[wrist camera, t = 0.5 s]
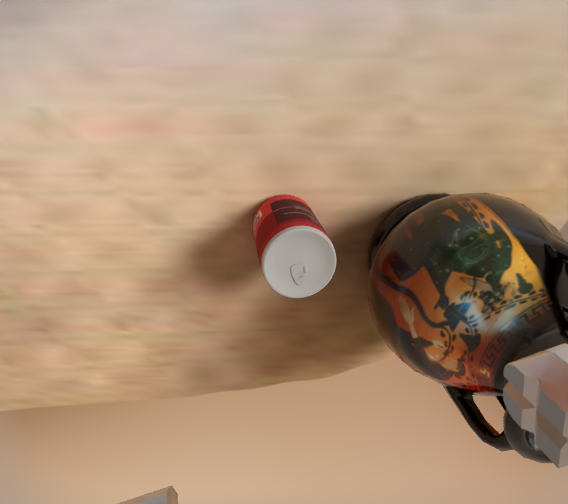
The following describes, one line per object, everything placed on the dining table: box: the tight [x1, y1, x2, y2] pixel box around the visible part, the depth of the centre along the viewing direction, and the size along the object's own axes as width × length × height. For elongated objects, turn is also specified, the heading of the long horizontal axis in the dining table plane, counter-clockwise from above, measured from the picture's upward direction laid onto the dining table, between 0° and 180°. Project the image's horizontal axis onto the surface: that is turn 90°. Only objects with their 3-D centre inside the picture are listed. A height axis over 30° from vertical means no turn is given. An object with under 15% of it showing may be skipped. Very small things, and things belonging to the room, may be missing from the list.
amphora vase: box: [367, 193, 568, 463], centre depth 44 cm, size 22×22×28 cm
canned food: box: [253, 195, 336, 298], centre depth 46 cm, size 8×8×11 cm
